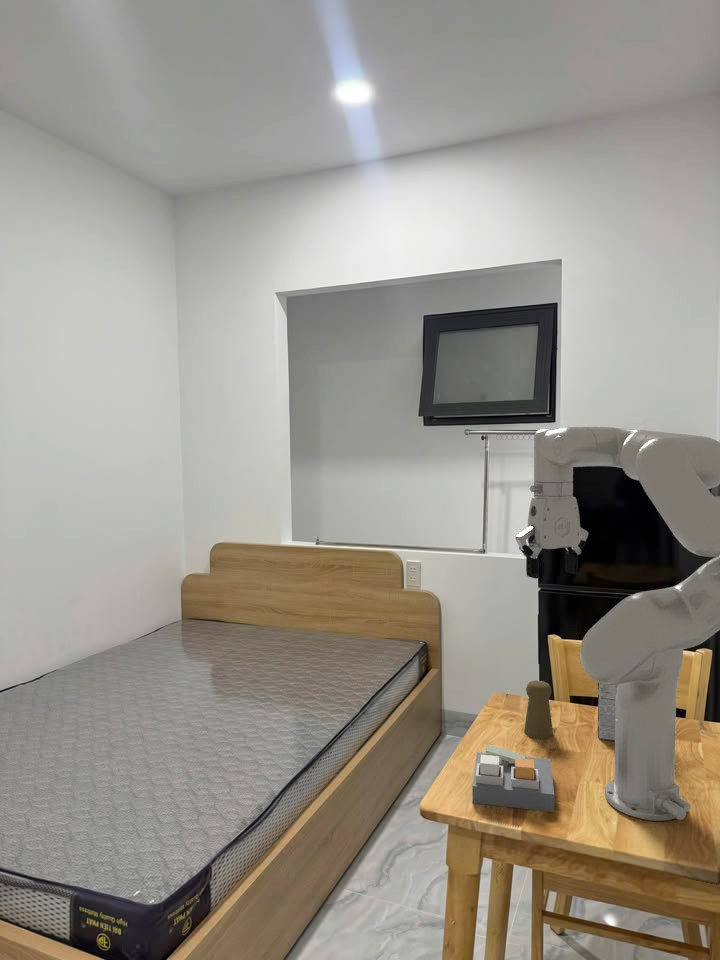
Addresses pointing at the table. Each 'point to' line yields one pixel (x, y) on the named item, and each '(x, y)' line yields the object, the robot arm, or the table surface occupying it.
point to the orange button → (524, 768)
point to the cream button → (489, 765)
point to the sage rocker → (503, 753)
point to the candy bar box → (606, 711)
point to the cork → (538, 711)
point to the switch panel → (515, 786)
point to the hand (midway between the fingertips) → (552, 575)
